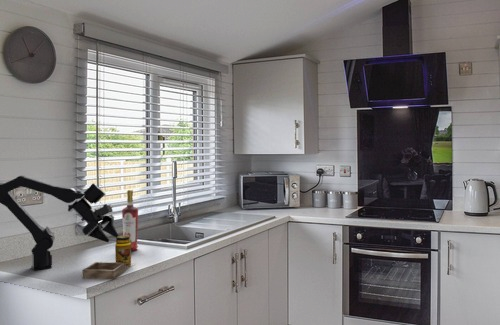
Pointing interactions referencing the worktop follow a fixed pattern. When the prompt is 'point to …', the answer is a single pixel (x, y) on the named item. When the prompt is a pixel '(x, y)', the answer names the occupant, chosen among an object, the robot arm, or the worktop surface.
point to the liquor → (130, 221)
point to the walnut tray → (104, 270)
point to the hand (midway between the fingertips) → (113, 239)
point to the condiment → (123, 250)
